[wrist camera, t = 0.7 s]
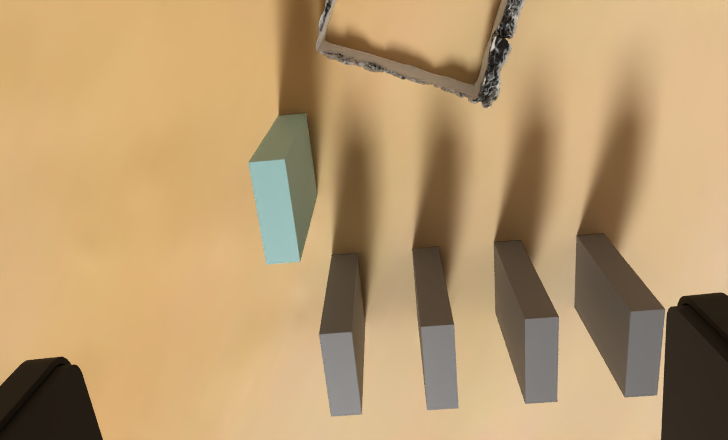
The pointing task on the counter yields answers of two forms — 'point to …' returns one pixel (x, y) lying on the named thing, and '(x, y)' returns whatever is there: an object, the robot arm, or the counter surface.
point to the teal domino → (284, 188)
